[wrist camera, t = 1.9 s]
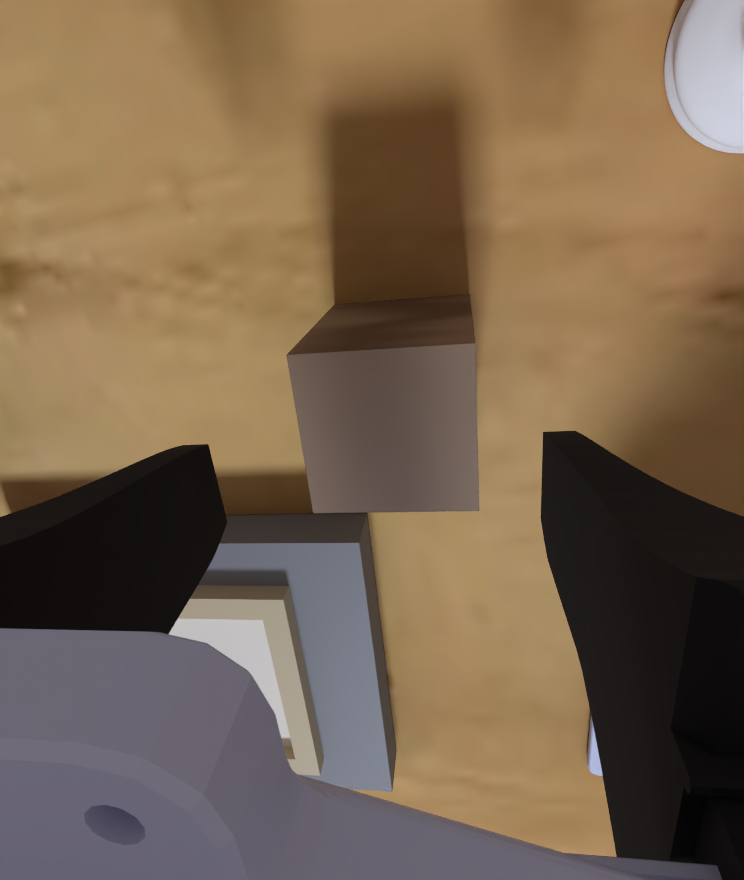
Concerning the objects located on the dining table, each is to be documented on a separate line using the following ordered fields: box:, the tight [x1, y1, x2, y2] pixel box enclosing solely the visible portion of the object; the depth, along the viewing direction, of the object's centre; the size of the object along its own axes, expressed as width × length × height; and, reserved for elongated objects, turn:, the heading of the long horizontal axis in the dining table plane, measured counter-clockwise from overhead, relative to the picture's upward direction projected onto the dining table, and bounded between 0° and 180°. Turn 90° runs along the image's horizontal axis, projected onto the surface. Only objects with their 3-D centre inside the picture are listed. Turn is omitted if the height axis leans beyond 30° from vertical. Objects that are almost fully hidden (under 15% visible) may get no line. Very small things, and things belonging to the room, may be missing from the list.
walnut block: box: [287, 294, 479, 513], centre depth 17 cm, size 4×4×6 cm
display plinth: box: [169, 513, 396, 792], centre depth 25 cm, size 16×14×3 cm
